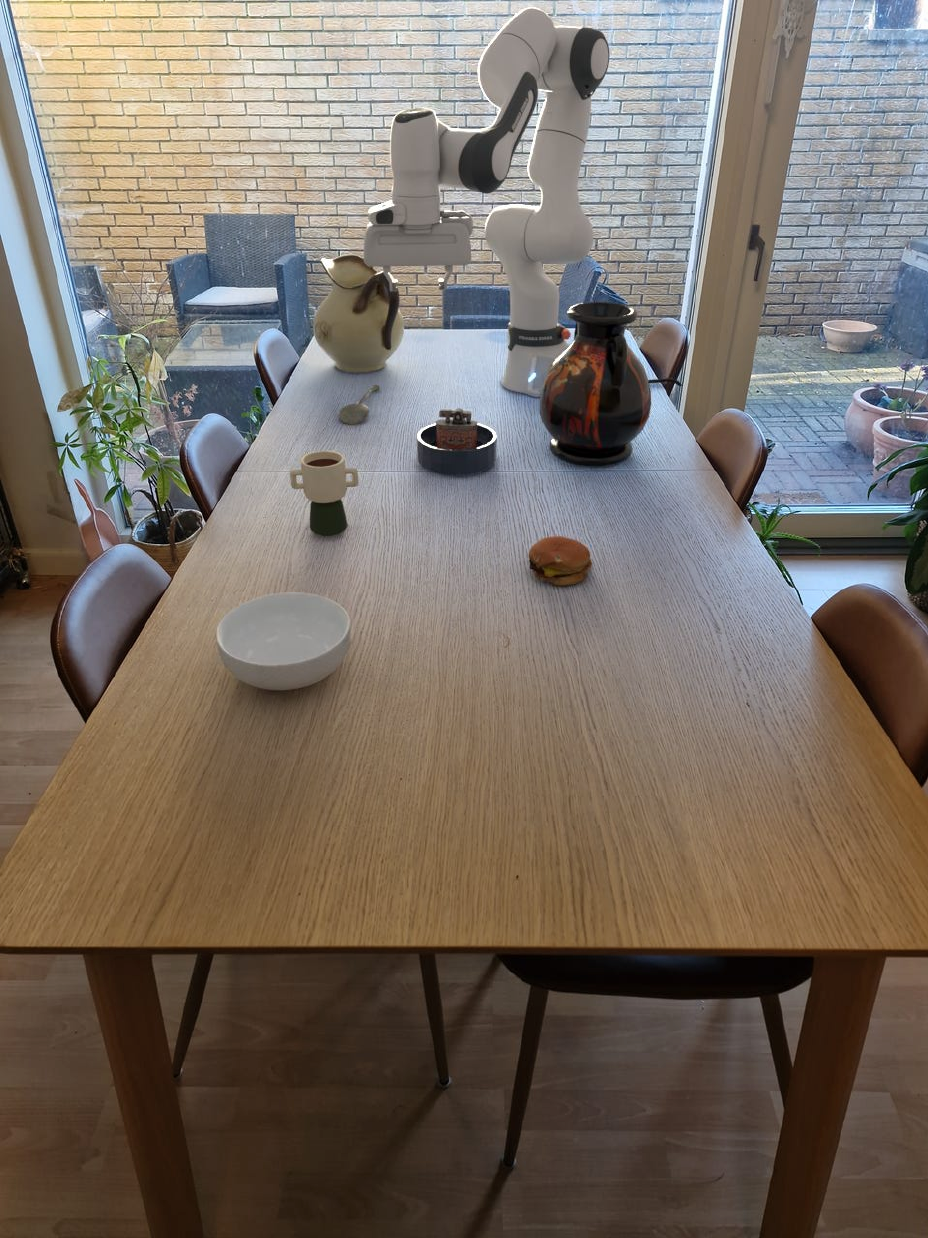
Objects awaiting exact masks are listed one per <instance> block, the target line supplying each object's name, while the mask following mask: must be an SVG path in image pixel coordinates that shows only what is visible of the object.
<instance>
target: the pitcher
mask: <svg viewBox="0 0 928 1238" xmlns="http://www.w3.org/2000/svg"><path fill="white" fill-rule="evenodd" d="M320 263H321V265H322V268H323V270H324V271H325V273H326V275H327V276H328V277H329V279H330V280H331V282H332V288H331V290H330V292H329V294H327V296H326V297H325V299H323V301H322V302H321V303H320V305H319V306H318V307H317V310H316V312H315V314H314V317H313V321H312V331H313V336H314V338H315V341H316V343H317V344H318V346H319V348H320V349H321V351H323V352H324V353H325V354H326V355H327V356H328V357H329V358H330V359H331V360H332V361H333V362H334V364H335V367H336V368H337V369H338V370H339V371H342V372H346V373H358V374H359V373H371V372H376V371H379V370H381V369H383V368H385V366H386V363H387V360H389V359H390V358H391V357H392V356H393V355H394V354H395V352H396V351H397V350H398V349H399V347H400V345H401V343H402V341H403V337H404V333H405V322H404V317H403V315H402V311H400V309H399V308H400V291H399V288H398V286H397V291H390V285H389V281H388V280H387V278H386V276H385V275H384V273H383V270H382V271H380V272H378V271H377V270H376V269H375V267H368V266H367V265H366V264H365V263H364V257H361V256H360V255H357V254H353V253H352V254H343V255H340V256H337V257H335V258H331V259H327V258H321V261H320ZM389 274H390V276H391V278H392V279H393V280H395V279H394V277H393V276H392V274H391V272H390V273H389Z"/></svg>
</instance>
